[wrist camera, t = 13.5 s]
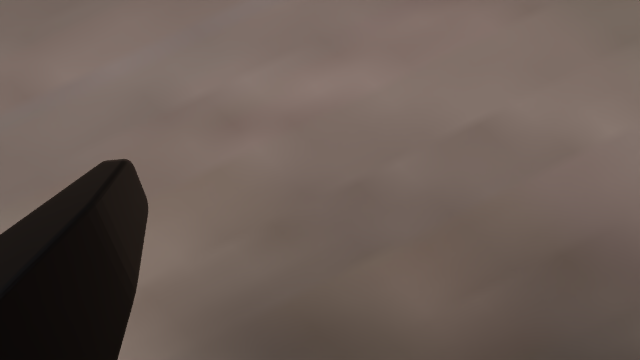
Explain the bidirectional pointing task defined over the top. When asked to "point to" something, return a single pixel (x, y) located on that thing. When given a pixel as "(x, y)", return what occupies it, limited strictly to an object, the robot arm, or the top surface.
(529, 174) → the top surface
